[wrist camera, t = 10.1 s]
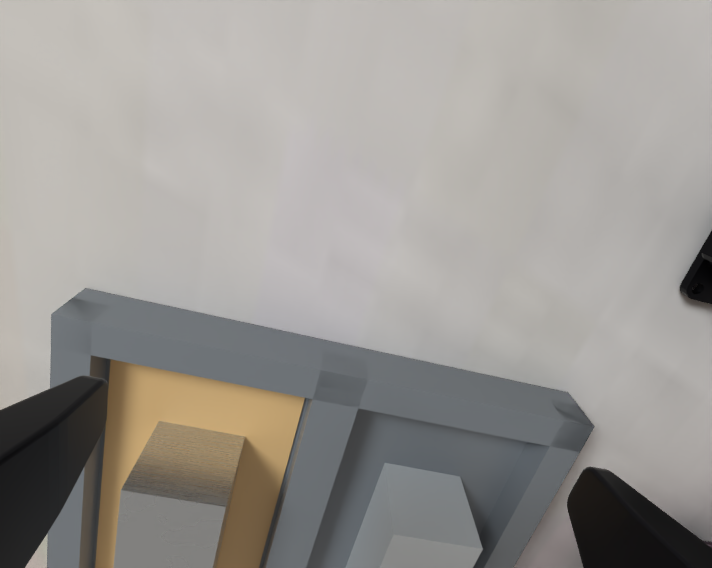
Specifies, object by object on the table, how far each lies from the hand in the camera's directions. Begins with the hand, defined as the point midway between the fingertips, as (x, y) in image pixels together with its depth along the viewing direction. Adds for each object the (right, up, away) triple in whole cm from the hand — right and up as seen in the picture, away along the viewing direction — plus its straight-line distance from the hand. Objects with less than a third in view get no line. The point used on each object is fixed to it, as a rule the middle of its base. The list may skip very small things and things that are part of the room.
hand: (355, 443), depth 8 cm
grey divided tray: (-3, -9, +17) cm, 19 cm away
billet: (-8, -8, +15) cm, 19 cm away
